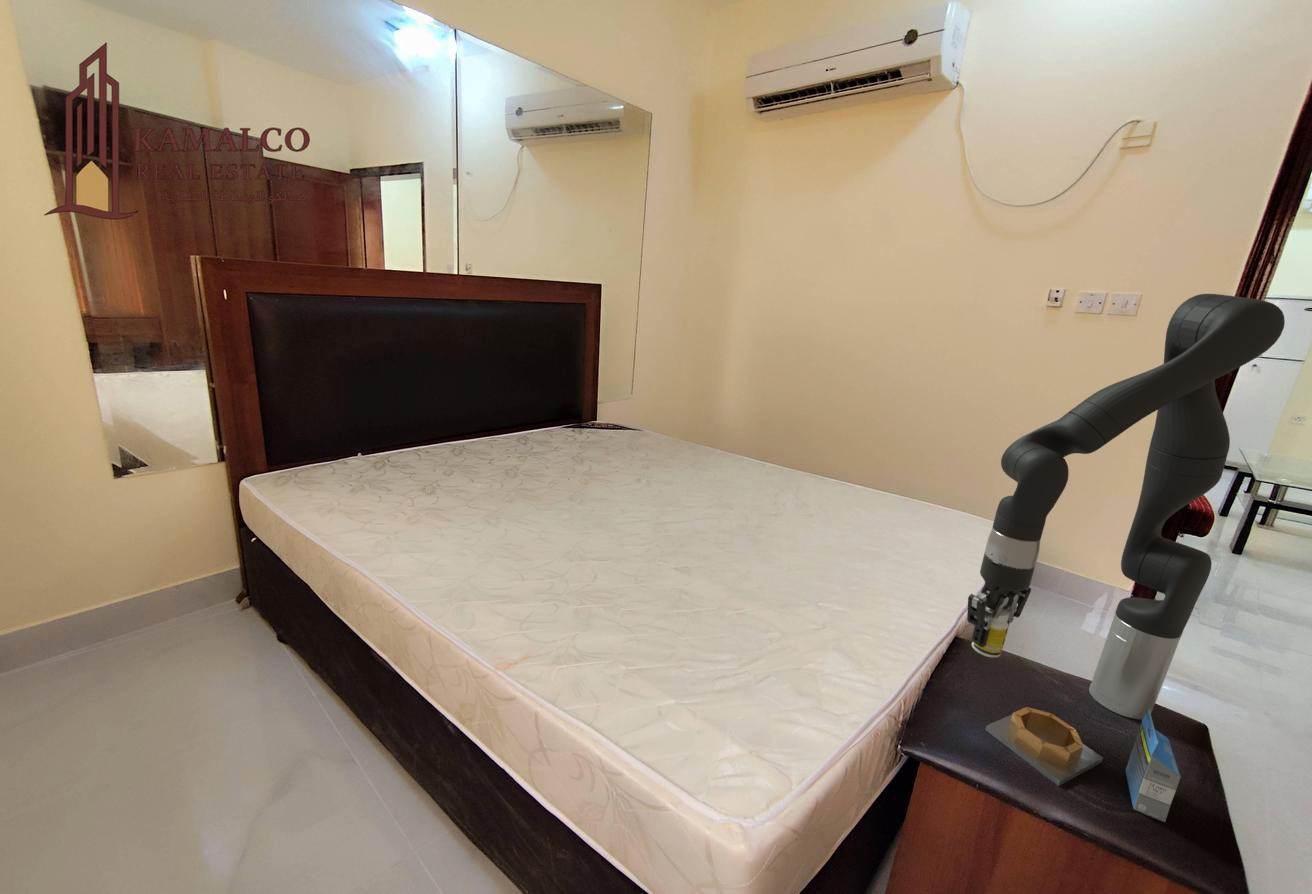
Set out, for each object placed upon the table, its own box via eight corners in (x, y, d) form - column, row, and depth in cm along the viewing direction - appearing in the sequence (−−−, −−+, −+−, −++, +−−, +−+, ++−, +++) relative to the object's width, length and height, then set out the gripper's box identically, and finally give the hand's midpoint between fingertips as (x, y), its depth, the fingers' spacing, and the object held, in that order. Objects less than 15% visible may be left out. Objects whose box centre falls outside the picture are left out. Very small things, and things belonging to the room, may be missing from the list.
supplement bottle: (1005, 660, 97) (1016, 619, 95) (976, 655, 98) (986, 615, 96) (995, 644, 102) (1005, 604, 99) (967, 639, 103) (977, 600, 100)
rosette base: (1027, 711, 100) (1032, 695, 99) (1101, 762, 90) (1107, 745, 89) (985, 729, 95) (990, 713, 94) (1058, 786, 85) (1064, 768, 84)
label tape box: (1165, 824, 80) (1194, 756, 76) (1129, 808, 82) (1156, 742, 78) (1154, 782, 87) (1180, 718, 83) (1121, 769, 89) (1145, 706, 85)
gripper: (1015, 540, 101) (994, 621, 105) (962, 553, 95) (942, 637, 100) (1058, 559, 94) (1033, 644, 99) (1004, 574, 88) (980, 663, 93)
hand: (988, 640), depth 99 cm, fingers closed on supplement bottle, 4 cm apart
